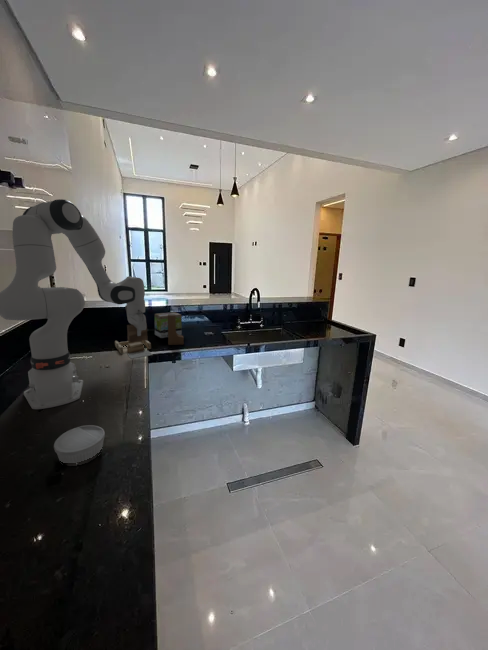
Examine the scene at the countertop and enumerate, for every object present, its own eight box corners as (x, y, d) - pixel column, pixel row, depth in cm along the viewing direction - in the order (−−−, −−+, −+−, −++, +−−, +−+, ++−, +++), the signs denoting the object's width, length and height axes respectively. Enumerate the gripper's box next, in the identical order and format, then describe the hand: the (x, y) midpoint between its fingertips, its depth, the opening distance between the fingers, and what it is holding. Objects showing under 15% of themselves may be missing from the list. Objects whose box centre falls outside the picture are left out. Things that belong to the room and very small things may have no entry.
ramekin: (113, 441, 76) (111, 424, 75) (93, 471, 66) (91, 452, 64) (73, 440, 76) (71, 424, 75) (46, 470, 65) (43, 452, 64)
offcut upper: (143, 346, 149) (143, 343, 148) (130, 348, 144) (130, 345, 144) (140, 344, 151) (140, 341, 151) (128, 346, 147) (128, 343, 146)
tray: (151, 349, 152) (150, 343, 151) (120, 354, 143) (120, 347, 142) (143, 342, 164) (142, 336, 163) (114, 346, 155) (114, 340, 154)
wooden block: (183, 342, 167) (183, 314, 163) (183, 344, 163) (183, 315, 158) (168, 343, 165) (167, 314, 160) (168, 345, 160) (167, 315, 156)
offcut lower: (144, 350, 149) (144, 346, 148) (129, 352, 144) (129, 348, 144) (142, 348, 152) (141, 344, 152) (127, 350, 148) (127, 346, 147)
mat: (152, 355, 143) (152, 354, 143) (131, 359, 136) (131, 358, 136) (148, 351, 149) (148, 350, 149) (127, 354, 142) (127, 353, 142)
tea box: (161, 338, 172) (160, 316, 169) (154, 335, 180) (153, 313, 176) (182, 335, 182) (181, 314, 179) (175, 332, 189) (174, 311, 186)
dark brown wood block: (147, 339, 143) (146, 324, 141) (129, 342, 137) (128, 326, 135) (145, 338, 145) (144, 323, 143) (127, 340, 140) (126, 324, 138)
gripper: (149, 311, 131) (150, 338, 135) (136, 304, 147) (137, 329, 150) (136, 313, 127) (137, 340, 131) (124, 305, 143) (125, 330, 146)
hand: (137, 334), depth 140 cm, fingers closed on dark brown wood block, 3 cm apart
